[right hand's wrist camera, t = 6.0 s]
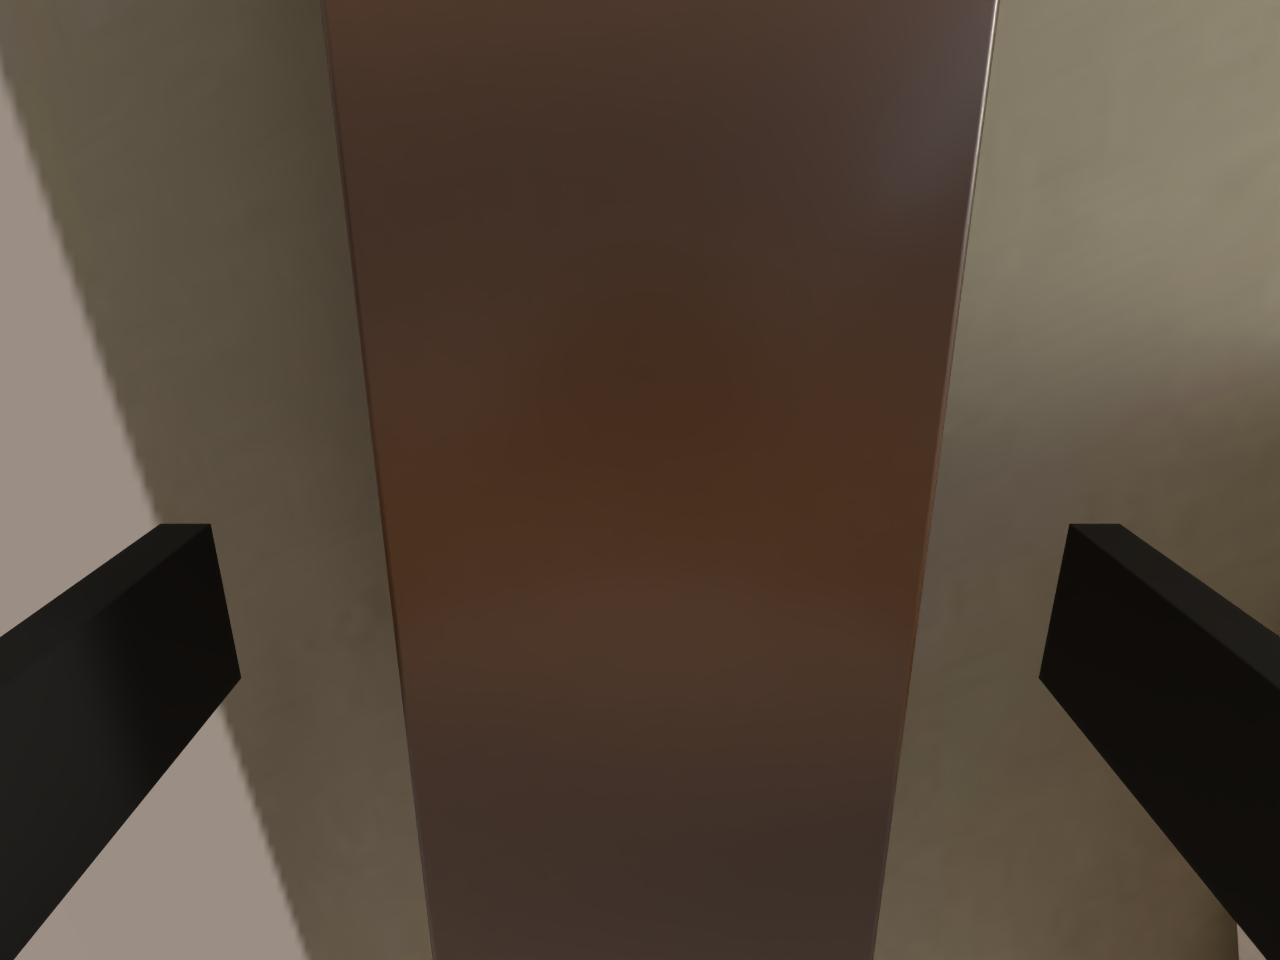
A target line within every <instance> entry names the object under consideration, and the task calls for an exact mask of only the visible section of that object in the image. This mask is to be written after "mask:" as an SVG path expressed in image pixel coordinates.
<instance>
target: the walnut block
mask: <svg viewBox="0 0 1280 960" xmlns="http://www.w3.org/2000/svg"><path fill="white" fill-rule="evenodd" d="M320 2H321V11H322V19H323V28H324V37H325V45H326V54H327V62H328V71H329V79H330V88H331V96H332V105H333V113H334V122H335V130H336V139H337V147H338V156H339V164H340V173H341V181H342V190H343V198H344V207H345V215H346V224H347V232H348V241H349V249H350V258H351V266H352V275H353V284H354V292H355V301H356V309H357V318H358V326H359V335H360V343H361V352H362V360H363V369H364V377H365V386H366V394H367V403H368V411H369V420H370V428H371V437H372V445H373V454H374V462H375V471H376V479H377V488H378V496H379V505H380V514H381V522H382V531H383V539H384V548H385V556H386V565H387V573H388V582H389V590H390V599H391V607H392V616H393V624H394V633H395V641H396V650H397V658H398V667H399V675H400V684H401V692H402V701H403V709H404V718H405V726H406V735H407V744H408V752H409V761H410V769H411V778H412V786H413V795H414V803H415V812H416V820H417V829H418V837H419V846H420V854H421V863H422V871H423V880H424V888H425V897H426V905H427V914H428V922H429V931H430V939H431V948H432V956H433V960H873V957H874V950H875V942H876V935H877V927H878V919H879V912H880V904H881V897H882V889H883V882H884V874H885V867H886V859H887V851H888V844H889V836H890V829H891V821H892V814H893V806H894V798H895V791H896V783H897V776H898V768H899V761H900V753H901V746H902V738H903V730H904V723H905V715H906V708H907V700H908V693H909V685H910V677H911V670H912V662H913V655H914V647H915V640H916V632H917V625H918V617H919V609H920V602H921V594H922V587H923V579H924V572H925V564H926V556H927V549H928V541H929V534H930V526H931V519H932V511H933V504H934V496H935V488H936V481H937V473H938V466H939V458H940V451H941V443H942V435H943V428H944V420H945V413H946V405H947V398H948V390H949V382H950V375H951V367H952V360H953V352H954V345H955V337H956V330H957V322H958V314H959V307H960V299H961V292H962V284H963V277H964V269H965V261H966V254H967V246H968V239H969V231H970V224H971V216H972V209H973V201H974V193H975V186H976V178H977V171H978V163H979V156H980V148H981V140H982V133H983V125H984V118H985V110H986V103H987V95H988V88H989V80H990V72H991V65H992V57H993V50H994V42H995V35H996V27H997V19H998V12H999V4H1000V0H320Z"/></svg>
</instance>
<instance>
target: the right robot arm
mask: <svg viewBox="0 0 1280 960" xmlns="http://www.w3.org/2000/svg"><path fill="white" fill-rule="evenodd" d="M240 679H241V675H240V670H239V664H238V659H237V654H236V649H235V644H234V639H233V634H232V629H231V624H230V619H229V614H228V609H227V604H226V599H225V594H224V589H223V584H222V579H221V574H220V569H219V564H218V559H217V554H216V549H215V544H214V539H213V534H212V529H211V524H159V525H158V526H157V527H155V528H154V529H152V530H151V531H150V532H148V533H147V534H145V535H144V536H143V537H141V538H140V539H138V540H137V541H135V542H134V543H133V544H131V545H130V546H128V547H127V548H126V549H124V550H123V551H121V552H120V553H119V554H117V555H116V556H114V557H113V558H111V559H110V560H109V561H107V562H106V563H104V564H103V565H102V566H100V567H99V568H97V569H96V570H95V571H93V572H92V573H90V574H89V575H87V576H86V577H85V578H83V579H82V580H80V581H79V582H78V583H76V584H75V585H73V586H72V587H70V588H69V589H68V590H66V591H65V592H63V593H62V594H61V595H59V596H58V597H56V598H55V599H54V600H52V601H51V602H49V603H48V604H47V605H45V606H44V607H42V608H41V609H40V610H38V611H37V612H35V613H34V614H32V615H31V616H30V617H28V618H27V619H25V620H24V621H22V622H21V623H20V624H18V625H17V626H15V627H14V628H13V629H11V630H10V631H8V632H7V633H5V634H4V635H3V636H1V637H0V960H14V959H15V957H16V956H17V955H18V954H19V952H20V951H21V950H22V949H23V948H24V946H25V945H26V944H27V943H28V941H29V940H30V939H31V938H32V936H33V935H34V934H35V933H36V931H37V930H38V929H39V928H40V926H41V925H42V924H43V923H44V922H45V920H46V919H47V918H48V917H49V915H50V914H51V913H52V912H53V910H54V909H55V908H56V907H57V905H58V904H59V903H60V902H61V900H62V899H63V898H64V897H65V896H66V894H67V893H68V892H69V891H70V889H71V888H72V887H73V886H74V884H75V883H76V882H77V881H78V879H79V878H80V877H81V876H82V874H83V873H84V872H85V871H86V869H87V868H88V867H89V866H90V864H91V863H92V862H93V861H94V860H95V858H96V857H97V856H98V855H99V853H100V852H101V851H102V850H103V848H104V847H105V846H106V845H107V843H108V842H109V841H110V840H111V839H112V837H113V836H114V835H115V834H116V832H117V831H118V830H119V829H120V827H121V826H122V825H123V824H124V822H125V821H126V820H127V819H128V818H129V816H130V815H131V814H132V813H133V811H134V810H135V809H136V808H137V806H138V805H139V804H140V803H141V801H142V800H143V799H144V798H145V796H146V795H147V794H148V793H149V792H150V790H151V789H152V788H153V787H154V785H155V784H156V783H157V782H158V780H159V779H160V778H161V777H162V775H163V774H164V773H165V772H166V771H167V769H168V768H169V767H170V766H171V764H172V763H173V762H174V761H175V759H176V758H177V757H178V756H179V754H180V753H181V752H182V751H183V749H184V748H185V747H186V746H187V745H188V743H189V742H190V741H191V740H192V738H193V737H194V736H195V735H196V733H197V732H198V731H199V730H200V728H201V727H202V726H203V725H204V723H205V722H206V721H207V720H208V718H209V717H210V716H211V715H212V714H213V712H214V711H215V710H216V709H217V707H218V706H219V705H220V704H221V702H222V701H223V700H224V699H225V697H226V696H227V695H228V694H229V693H230V691H231V690H232V689H233V688H234V686H235V685H236V684H237V683H238V681H239V680H240ZM1039 679H1040V680H1041V681H1042V683H1043V684H1044V685H1045V686H1046V688H1047V689H1048V690H1049V691H1050V693H1051V694H1052V695H1053V696H1054V697H1055V699H1056V700H1057V701H1058V702H1059V704H1060V705H1061V706H1062V707H1063V709H1064V710H1065V711H1066V712H1067V714H1068V715H1069V716H1070V717H1071V719H1072V720H1073V721H1074V722H1075V723H1076V725H1077V726H1078V727H1079V728H1080V730H1081V731H1082V732H1083V733H1084V735H1085V736H1086V737H1087V738H1088V740H1089V741H1090V742H1091V743H1092V745H1093V746H1094V747H1095V748H1096V749H1097V751H1098V752H1099V753H1100V754H1101V756H1102V757H1103V758H1104V759H1105V761H1106V762H1107V763H1108V764H1109V766H1110V767H1111V768H1112V769H1113V771H1114V772H1115V773H1116V774H1117V775H1118V777H1119V778H1120V779H1121V780H1122V782H1123V783H1124V784H1125V785H1126V787H1127V788H1128V789H1129V790H1130V792H1131V793H1132V794H1133V795H1134V797H1135V798H1136V799H1137V800H1138V801H1139V803H1140V804H1141V805H1142V806H1143V808H1144V809H1145V810H1146V811H1147V813H1148V814H1149V815H1150V816H1151V818H1152V819H1153V820H1154V821H1155V822H1156V824H1157V825H1158V826H1159V827H1160V829H1161V830H1162V831H1163V832H1164V834H1165V835H1166V836H1167V837H1168V839H1169V840H1170V841H1171V842H1172V844H1173V845H1174V846H1175V847H1176V848H1177V850H1178V851H1179V852H1180V853H1181V855H1182V856H1183V857H1184V858H1185V860H1186V861H1187V862H1188V863H1189V865H1190V866H1191V867H1192V868H1193V870H1194V871H1195V872H1196V873H1197V874H1198V876H1199V877H1200V878H1201V879H1202V881H1203V882H1204V883H1205V884H1206V886H1207V887H1208V888H1209V889H1210V891H1211V892H1212V893H1213V894H1214V896H1215V897H1216V898H1217V899H1218V900H1219V902H1220V903H1221V904H1222V905H1223V907H1224V908H1225V909H1226V910H1227V912H1228V913H1229V914H1230V915H1231V917H1232V918H1233V919H1234V920H1235V922H1236V923H1237V924H1238V925H1239V926H1240V928H1241V929H1242V930H1243V931H1244V933H1245V934H1246V935H1247V936H1248V938H1249V939H1250V940H1251V941H1252V943H1253V944H1254V945H1255V946H1256V948H1257V949H1258V950H1259V951H1260V952H1261V954H1262V955H1263V956H1264V957H1265V959H1266V960H1280V637H1279V636H1277V635H1276V634H1275V633H1273V632H1272V631H1270V630H1269V629H1267V628H1266V627H1265V626H1263V625H1262V624H1260V623H1259V622H1258V621H1256V620H1255V619H1253V618H1252V617H1250V616H1249V615H1248V614H1246V613H1245V612H1243V611H1242V610H1241V609H1239V608H1238V607H1236V606H1235V605H1234V604H1232V603H1231V602H1229V601H1228V600H1226V599H1225V598H1224V597H1222V596H1221V595H1219V594H1218V593H1217V592H1215V591H1214V590H1212V589H1211V588H1210V587H1208V586H1207V585H1205V584H1204V583H1202V582H1201V581H1200V580H1198V579H1197V578H1195V577H1194V576H1193V575H1191V574H1190V573H1188V572H1187V571H1186V570H1184V569H1183V568H1181V567H1180V566H1178V565H1177V564H1176V563H1174V562H1173V561H1171V560H1170V559H1169V558H1167V557H1166V556H1164V555H1163V554H1161V553H1160V552H1159V551H1157V550H1156V549H1154V548H1153V547H1152V546H1150V545H1149V544H1147V543H1146V542H1145V541H1143V540H1142V539H1140V538H1139V537H1137V536H1136V535H1135V534H1133V533H1132V532H1130V531H1129V530H1128V529H1126V528H1125V527H1123V526H1122V525H1121V524H1069V529H1068V534H1067V539H1066V544H1065V549H1064V554H1063V559H1062V564H1061V569H1060V574H1059V579H1058V584H1057V589H1056V594H1055V599H1054V604H1053V609H1052V614H1051V619H1050V624H1049V629H1048V634H1047V639H1046V644H1045V649H1044V654H1043V659H1042V664H1041V670H1040V675H1039Z"/></svg>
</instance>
